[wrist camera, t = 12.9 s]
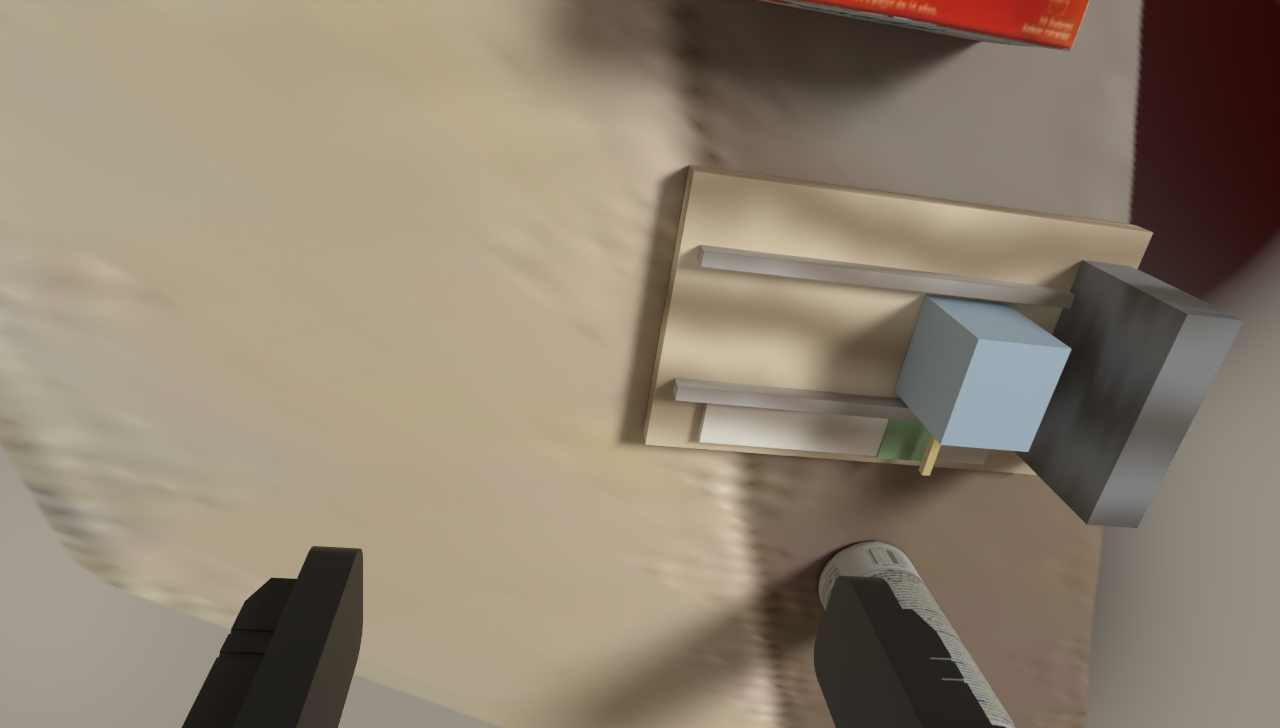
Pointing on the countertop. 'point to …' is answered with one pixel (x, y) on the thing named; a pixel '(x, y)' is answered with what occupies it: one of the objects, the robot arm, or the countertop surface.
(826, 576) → the spray can
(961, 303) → the gauge slider
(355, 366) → the countertop surface
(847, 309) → the base
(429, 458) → the countertop surface
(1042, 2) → the medicine box
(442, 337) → the countertop surface
